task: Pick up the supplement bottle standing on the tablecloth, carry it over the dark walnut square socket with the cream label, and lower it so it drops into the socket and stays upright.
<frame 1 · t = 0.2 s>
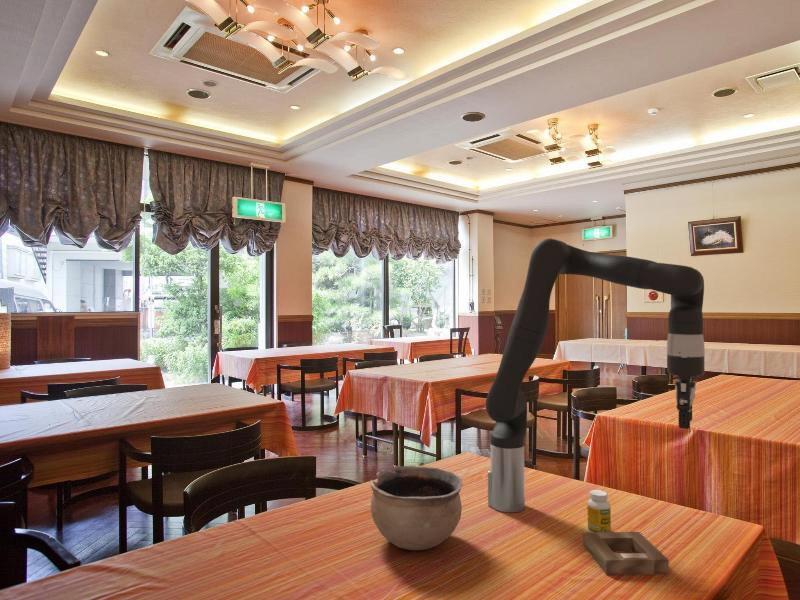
hand: (685, 424, 118), 28 cm above the table, tool pointing down, fingers open, 8 cm apart
supplement bottle: (599, 532, 127), on the table
socket holder: (623, 558, 113), on the table
ceramic bowl: (417, 542, 122), on the table
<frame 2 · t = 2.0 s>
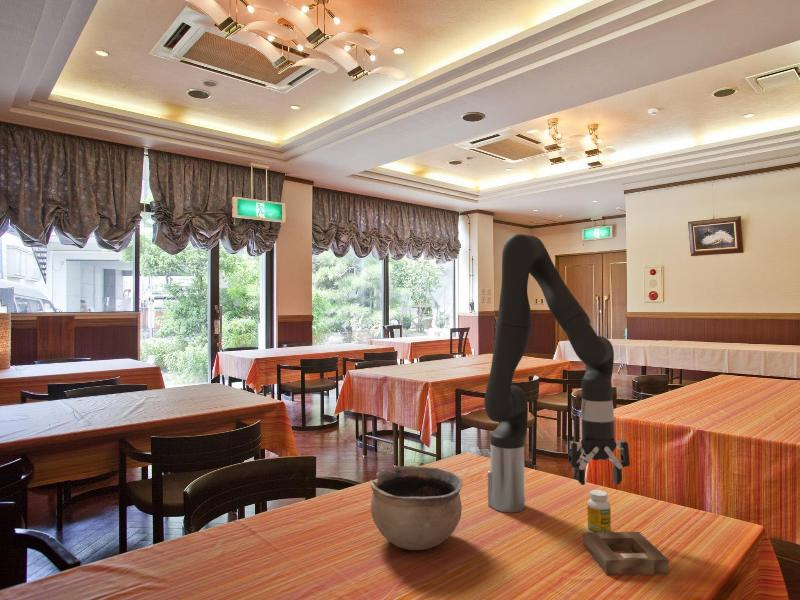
hand: (599, 483, 127), 12 cm above the table, tool pointing down, fingers open, 8 cm apart
nothing on the table moved.
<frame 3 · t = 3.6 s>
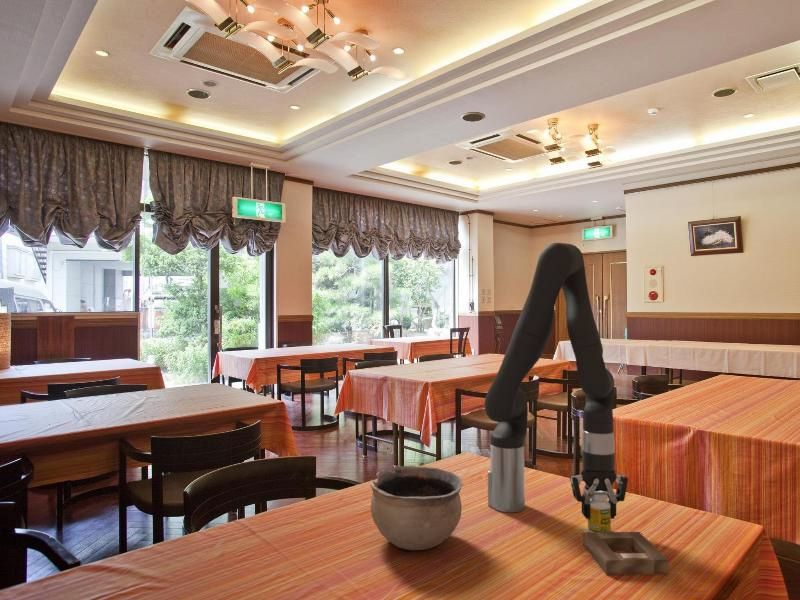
hand: (599, 517, 127), 3 cm above the table, tool pointing down, fingers closed on supplement bottle, 5 cm apart
supplement bottle: (599, 532, 127), on the table, touching gripper
everything else where it was.
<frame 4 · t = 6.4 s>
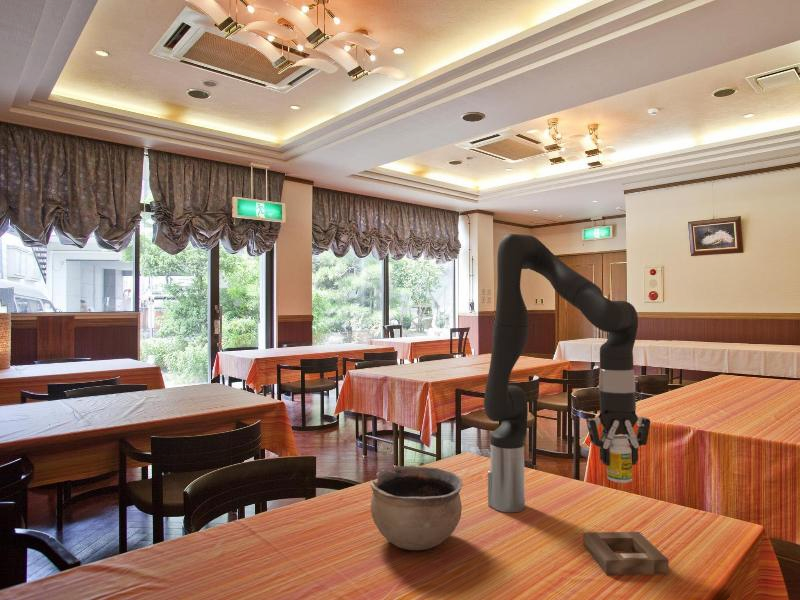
hand: (619, 463, 116), 20 cm above the table, tool pointing down, fingers closed on supplement bottle, 5 cm apart
supplement bottle: (619, 480, 116), point 16 cm above the table, touching gripper
everything else where it was.
when the fingers open (5 cm above the table, at t = 9.5 s): supplement bottle drops 1 cm, resting in socket holder.
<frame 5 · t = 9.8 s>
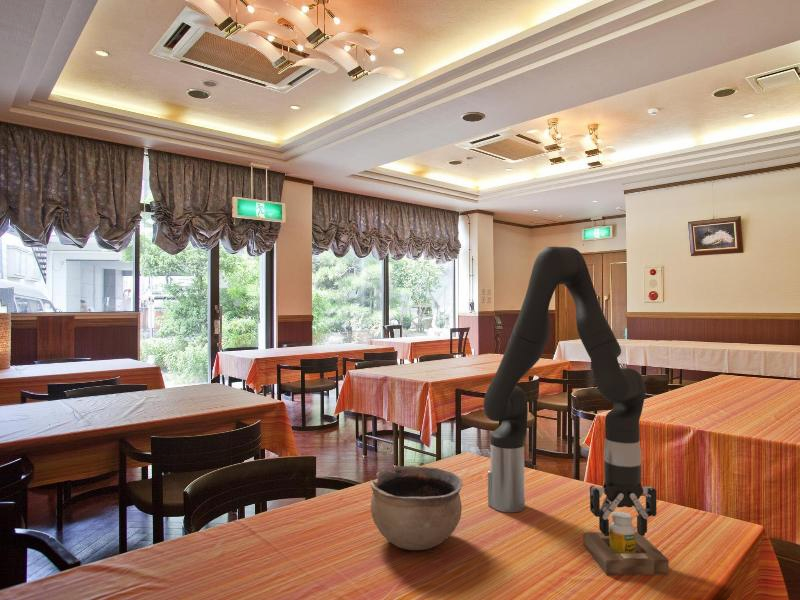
hand: (623, 534, 113), 5 cm above the table, tool pointing down, fingers open, 7 cm apart
supplement bottle: (622, 559, 113), resting in socket holder
everything else where it was.
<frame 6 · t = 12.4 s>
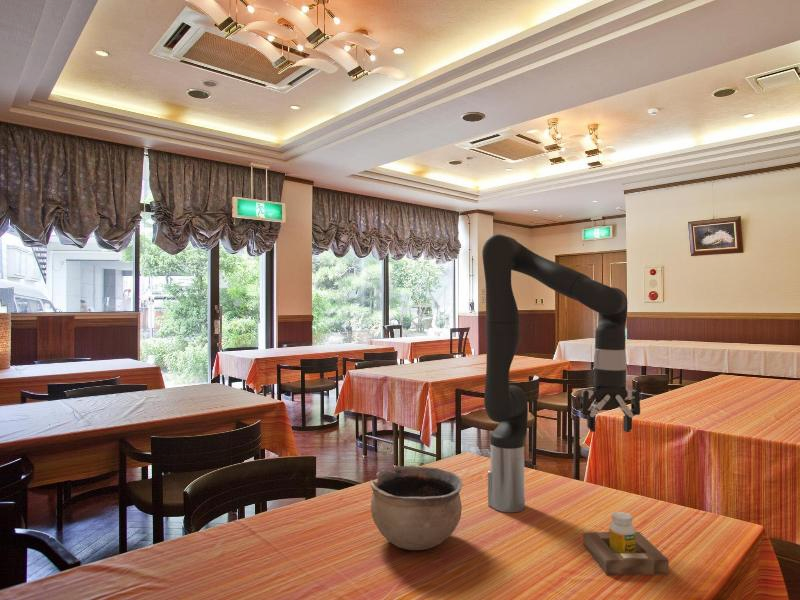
hand: (609, 431, 129), 24 cm above the table, tool pointing down, fingers open, 8 cm apart
nothing on the table moved.
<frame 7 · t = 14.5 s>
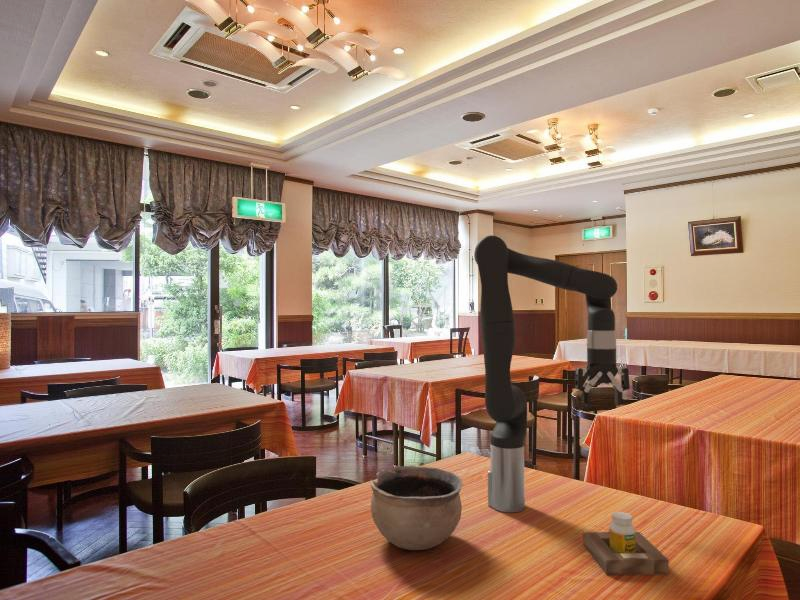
hand: (602, 405, 142), 28 cm above the table, tool pointing down, fingers open, 8 cm apart
nothing on the table moved.
at the end: supplement bottle 0.2 cm off-centre on the socket holder, point 0.0 cm above the socket holder's base; supplement bottle tilted 0°; the gripper is holding nothing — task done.
